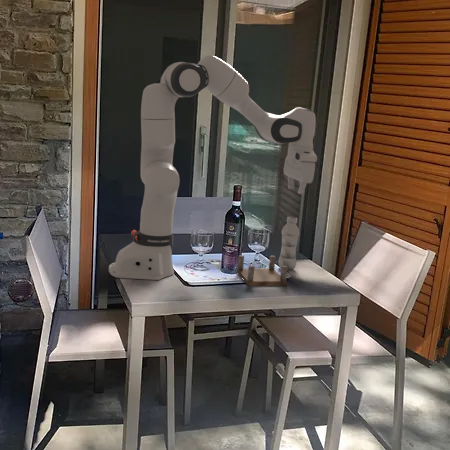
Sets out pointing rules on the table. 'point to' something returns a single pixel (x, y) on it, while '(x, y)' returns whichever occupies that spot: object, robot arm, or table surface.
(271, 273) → the peg stand
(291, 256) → the plastic bottle
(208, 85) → the robot arm
